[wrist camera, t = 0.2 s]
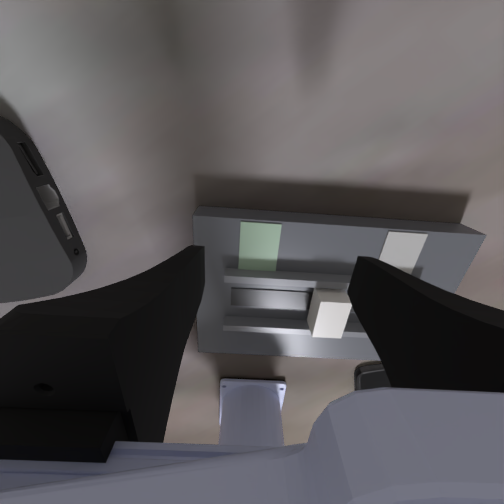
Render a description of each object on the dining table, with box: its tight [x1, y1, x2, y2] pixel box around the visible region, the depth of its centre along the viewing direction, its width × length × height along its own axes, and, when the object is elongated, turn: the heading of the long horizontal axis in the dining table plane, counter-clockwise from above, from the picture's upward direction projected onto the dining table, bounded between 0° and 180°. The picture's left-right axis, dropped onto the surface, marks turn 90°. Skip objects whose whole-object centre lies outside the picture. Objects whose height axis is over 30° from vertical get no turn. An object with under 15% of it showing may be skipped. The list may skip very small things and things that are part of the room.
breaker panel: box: [192, 206, 486, 361], centre depth 21 cm, size 14×22×4 cm, turn 86°
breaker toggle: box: [307, 288, 352, 338], centre depth 20 cm, size 4×2×2 cm, turn 176°
